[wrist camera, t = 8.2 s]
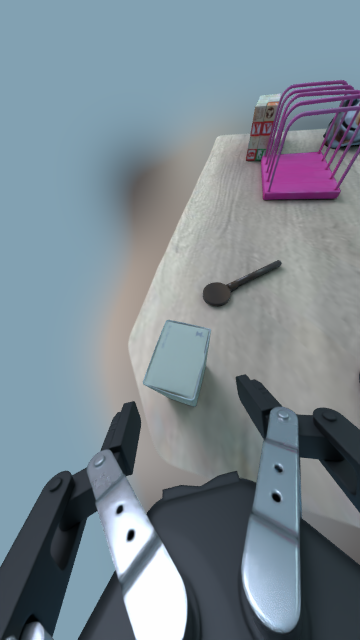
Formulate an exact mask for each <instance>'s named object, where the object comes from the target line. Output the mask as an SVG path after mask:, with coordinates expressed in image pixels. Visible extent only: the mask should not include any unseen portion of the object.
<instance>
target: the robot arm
mask: <svg viewBox="0 0 360 640" xmlns="http://www.w3.org/2000/svg"><path fill="white" fill-rule="evenodd" d="M359 382H360V374H359ZM236 383H237V390H238V395H239V398H240V401H241V403H242V404H243V406H244V407H245V409H246V411H247V412H248V414H249V416H250V417H251V419H252V421H253V422H254V424H255V426H256V427H257V429H258V431H259V432H260V434H261V436H262V437H263V439H264V441H263V447H262V453H261V459H260V466H259V472H258V478H257V483H255V482H253V481H251V480H248V479H243V478H239V476H238V473H237V471H234V472H230V473H227V474H223V475H219V476H217V477H215V478H214V479H212V480H211V481H209V482H207V483H206V484H204V485H202V486H187V485H179V486H176V487H172V488H168V489H164V490H163V498H162V499H160V500H159V501H158V502H156V503H155V504H154V505H153V506H152V507H151V509H150V510H149V511H148V512H147V514H146V513H145V511H144V509H143V507H142V506H141V504H140V502H139V500H138V498H137V496H136V495H135V493H134V491H133V489H132V487H131V485H130V483H129V482H128V480H127V478H126V476H128V475H132V474H133V468H134V463H135V457H136V451H137V446H138V440H139V434H140V428H141V418H140V415H139V412H138V409H137V407H136V403H135V402H134V401H133V402H129V403H125V404H124V405H123V407H122V410H121V412H118V413H117V414H116V416H115V417H114V418H113V420H112V422H111V426H110V428H109V430H108V433H107V435H106V438H105V440H104V443H103V446H102V448H101V451H100V452H99V453H97V454H96V455H95V456H94V457H93V458H92V459H91V460H90V462H89V464H88V466H87V468H85V469H83V470H81V471H80V472H78V473H76V474H74V475H71V473H70V472H69V471H63V472H60V473H58V474H57V475H55V476H54V477H53V478H52V479H51V480H50V481H49V482H48V483H47V484H46V486H45V487H44V488H43V490H42V492H41V494H40V496H39V497H38V499H37V501H36V503H35V505H34V507H33V508H32V510H31V512H30V514H29V516H28V518H27V519H26V521H25V523H24V525H23V527H22V529H21V530H20V532H19V534H18V536H17V538H16V540H15V541H14V543H13V545H12V547H11V549H10V551H9V552H8V554H7V556H6V558H5V560H4V561H3V563H2V565H1V567H0V640H54V639H53V638H52V636H53V633H54V630H55V626H56V623H57V619H58V616H59V613H60V609H61V606H62V602H63V599H64V596H65V592H66V588H67V585H68V582H69V578H70V575H71V572H72V568H73V565H74V561H75V558H76V555H77V551H78V548H79V544H80V541H81V537H82V534H83V531H84V527H85V524H86V520H87V517H89V516H90V515H92V514H93V513H94V512H96V511H98V514H99V517H100V520H101V523H102V526H103V530H104V533H105V536H106V539H107V543H108V546H109V549H110V552H111V556H112V559H113V562H114V565H115V569H116V570H115V572H114V574H113V575H112V577H111V579H110V581H109V583H108V585H107V586H106V588H105V590H104V592H103V594H102V595H101V597H100V599H99V601H98V603H97V605H96V607H95V608H94V611H93V612H92V614H91V616H90V618H89V619H88V621H87V623H86V625H85V627H84V629H83V630H82V632H81V634H80V636H79V638H78V640H360V565H359V564H358V563H356V562H355V561H354V560H353V559H352V558H350V557H349V556H348V555H347V554H345V553H344V552H343V551H342V550H340V549H339V548H338V547H337V546H335V545H334V544H333V543H332V542H330V541H329V540H328V539H327V538H326V537H324V536H323V535H322V534H321V533H319V532H318V531H317V530H316V529H314V528H313V527H312V526H311V525H310V524H308V523H307V522H306V521H305V520H303V519H302V503H301V473H300V457H302V458H312V459H319V461H320V462H321V463H322V465H323V466H324V467H325V468H326V470H327V471H328V472H329V474H330V475H331V476H332V477H333V479H334V480H335V481H336V483H337V484H338V485H339V487H340V488H341V489H342V490H343V492H344V493H345V494H346V496H347V497H348V498H349V500H350V501H351V502H352V503H353V505H354V506H355V507H356V509H357V510H358V511H359V512H360V430H359V429H358V428H357V427H356V426H354V425H353V424H352V423H351V422H350V421H349V420H347V419H346V418H345V417H344V416H343V415H341V414H340V413H338V412H337V411H335V410H332V409H328V408H317V409H315V410H314V411H313V415H298V414H295V413H294V412H293V411H292V410H290V409H288V408H285V407H282V406H281V404H280V403H279V402H278V401H277V400H276V399H275V398H274V397H273V396H272V395H271V393H270V392H269V391H268V390H267V389H266V388H265V387H264V386H263V385H262V383H260V382H259V381H257V380H255V379H254V380H250V379H249V378H248V376H247V375H241V376H237V377H236Z"/></svg>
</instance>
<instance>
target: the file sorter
mask: <svg viewBox="0 0 360 640" xmlns="http://www.w3.org/2000/svg"><path fill="white" fill-rule="evenodd" d="M330 84H343V85H338V86H326V87H315V88H306V89H297V90H294V91H292V92H291V93H289V94H288V95H287V96H286V98H285V99H284V101H283V103H282V105H281V101H282V99H283V96H284V95H285V94H286V92H287V91H289V90H290V89H292V88H296V87H306V86H317V85H330ZM336 89H345V90H336ZM323 90H335V91H323ZM312 91H317V92H312ZM303 92H304V93H303ZM295 93H299V94H297V95H295V96H294V97H293V98H292V99H291V100H290V101H289V103H288V104H287V106H286V108H285V110H284V113H283V116H282V119H281V123H280V126H279V130H278V132H277V136H276V139H275V143H274V146H273V150H272V153H271V155H270V152H271V148H272V145H273V141H274V137H275V133H276V130H277V125H278V122H279V118H280V115H281V112H282V108H283V105H284V103H285V102H286V100H287V99H288V98H289V96H291V95H293V94H295ZM340 94H345V95H344V96H338V97H330V98H321V99H313V100H306V101H301V102H298V103H296V104H295V105H294V106H292V107H291V109H290V110H289V111H288V112H287V114H286V111H287V109H288V107H289V105H290V104H291V103H292V102H293V101H294V100H295V99H297V98H299V97H305V96H320V95H340ZM347 94H351V95H347ZM350 99H351V100H350ZM354 99H360V91H359V90H354V88H353V87H352V86H350V85H348V84H347V82H346V81H344V80H337V81H323V82H312V83H302V84H294V85H291V86H290V87H288V88H287V89H286V90H285V91H284V93H283V94H282V96H281V98H280V101H279V104H278V108H277V111H276V115H275V119H274V123H273V126H272V130H271V134H270V138H269V142H268V146H267V150H266V154H265V156H262V160H261V170H262V188H263V199H264V200H272V199H328V198H337V197H338V195H339V193H340V192H341V190H340V188H339V186H340V184H341V183H342V181H343V180H344V178H345V176H346V175H347V173H348V171H349V169H350V168H351V166H352V164H353V163H354V161H355V159H356V158H357V156H358V154H359V153H360V146H359V148H358V150H357V152H356V153H355V155H354V157H353V159H352V160H351V162H350V164H349V165H348V167H347V169H346V170H345V172H344V174H343V176H342V177H341V179H340V181H339V182H338V184H337V182H336V180H335V178H334V175H335V173H336V171H337V169H338V168H339V166H340V164H341V162H342V160H343V159H344V157H345V155H346V153H347V152H348V150H349V148H350V146H351V144H352V142H353V141H354V139H355V137H356V135H357V133H358V132H359V130H360V123H359V125H358V127H357V129H356V131H355V133H354V134H353V136H352V138H351V140H350V142H349V144H348V146H347V147H346V149H345V151H344V153H343V155H342V157H341V159H340V160H339V162H338V164H337V166H336V168H335V169H334V171H333V173H332V172H331V170H330V168H329V166H330V164H331V163H332V161H333V159H334V157H335V155H336V154H337V152H338V150H339V148H340V146H341V144H342V143H343V141H344V139H345V137H346V135H347V134H348V132H349V130H350V128H351V126H352V124H353V122H354V121H355V119H356V117H357V115H358V113H359V111H360V103H359V106H351V104H352V102H353V100H354ZM341 100H342V102H341V104H340V106H339V108H332V109H323V110H314V111H307V112H303V113H300V114H298V115H297V116H295V117H294V118H293V119H292V120H291V121H290V123H289V124H288V126H287V128H286V130H285V133H284V136H283V139H282V142H281V146H280V149H279V152H278V155H276V154H277V150H278V147H279V143H280V139H281V136H282V132H283V128H284V125H285V122H286V119H287V117H288V116H289V114H290V113H291V112H292V111H293V110H294V109H295V108H296V107H298V106H301V105H309V104H315V103H324V102H331V101H341ZM345 100H350V102H349V104H348V107H342V105H343V103H344V101H345ZM280 105H281V108H280ZM279 108H280V111H279ZM348 111H356V113H355V115H354V117H353V118H352V120H351V122H350V124H349V126H348V128H347V130H346V132H345V133H344V135H343V137H342V139H341V141H340V143H339V145H338V146H337V148H336V150H335V152H334V154H333V156H332V158H331V159H330V161H329V163H328V164H327V162H326V160H325V157H326V155H327V153H328V151H329V149H330V147H331V145H332V143H333V141H334V139H335V137H336V135H337V133H338V131H339V129H340V127H341V125H342V123H343V121H344V119H345V117H346V115H347V113H348ZM278 112H279V114H278ZM339 112H345V113H344V115H343V117H342V119H341V121H340V123H339V126H338V128H337V130H336V132H335V134H334V136H333V138H332V140H331V142H330V144H329V146H328V148H327V150H326V152H325V154H324V156H323V154H322V152H321V150H322V148H323V146H324V144H325V142H326V139H327V137H328V135H329V133H330V131H331V129H332V127H333V125H334V122H335V120H336V118H337V116H338V114H339ZM328 113H336V115H335V117H334V119H333V121H332V124H331V126H330V128H329V130H328V132H327V134H326V137H325V139H324V141H323V143H322V145H321V147H320V149H319V152H310V153H294V154H281V151H282V148H283V145H284V141H285V138H286V135H287V132H288V130H289V128H290V126H291V125H292V124H293V123H294V122H295V121H296V120H297V119H298V118H300V117H303V116H310V115H319V114H328ZM285 114H286V116H285ZM277 115H278V118H277ZM284 117H285V118H284ZM276 119H277V122H276ZM275 123H276V126H275ZM274 127H275V130H274ZM273 130H274V133H273ZM272 134H273V137H272ZM271 138H272V140H271ZM277 140H278V141H277ZM270 142H271V144H270ZM276 144H277V145H276ZM269 145H270V148H269ZM275 147H276V149H275ZM268 149H269V152H268ZM274 150H275V152H274ZM267 153H268V155H267ZM273 154H274V155H273Z"/></svg>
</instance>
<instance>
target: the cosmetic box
mask: <svg viewBox="0 0 360 640" xmlns="http://www.w3.org/2000/svg"><path fill="white" fill-rule="evenodd" d="M210 333H211V329H208V328H204V327H200V326H195V325H191V324H186V323H182V322H177V321H171V320H167V321H166V323H165V325H164V328H163V330H162V332H161V335H160V337H159V340H158V342H157V345H156V347H155V350H154V353H153V355H152V358H151V361H150V364H149V366H148V369H147V372H146V375H145V378H144V381H143V384H144V385H146V386H148V387H149V388H151V389H153V390H155V391H157V392H159V393H161V394H162V395H164V396H166V397H168V398H171V399H173V400H176V401H179V402H182V403H185V404H188V405H191V406H196V404H197V400H198V396H199V392H200V388H201V384H202V380H203V375H204V371H205V366H206V360H207V353H208V347H209V341H210Z"/></svg>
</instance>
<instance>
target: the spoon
mask: <svg viewBox="0 0 360 640" xmlns="http://www.w3.org/2000/svg"><path fill="white" fill-rule="evenodd" d="M281 264H282V263H281V261H279V260H278V261H275V262H273V263H271V264H269V265H267V266H265V267H263V268H261V269H259V270H257V271H254V272H252V273H250V274H248V275H246V276H244V277H242V278H240V279H238V280H236V281H234V282H231V283H229V284H227V285H225V284H222V283H218V282H216V283H211V284H208V285H207V286H206V287H205V288H204V290H203V299H204V300H205V302H206V303H208V304H209V305H212V306H222V305H224V304H226V303H227V302H228V301H229V299H230V295H231V291H233V290H235V289H237V288H238V286H240V285H242V284H244V283H246V282H248V281H250V280H252V279H254V278H256V277H259V276H261V275H263V274H265V273H267V272H269V271H271V270H273V269H275V268H277V267H279V266H280V265H281Z"/></svg>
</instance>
